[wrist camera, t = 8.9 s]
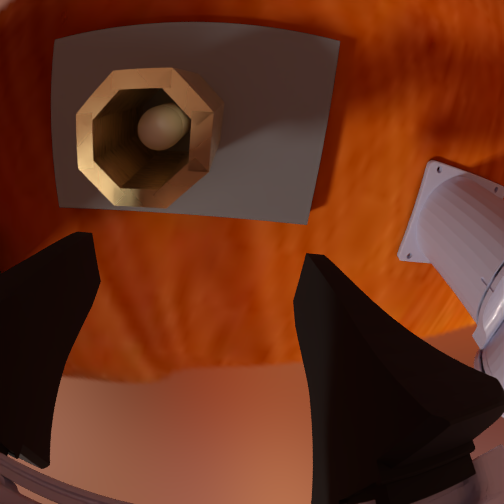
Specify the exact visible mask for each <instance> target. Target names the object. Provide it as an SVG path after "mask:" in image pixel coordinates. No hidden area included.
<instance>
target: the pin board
mask: <svg viewBox="0 0 504 504" xmlns="http://www.w3.org/2000/svg"><path fill="white" fill-rule="evenodd" d="M339 47H340V41H338V40H334V39H330V38H325V37H321V36H317V35H312V34H307V33H302V32H297V31H291V30H285V29H279V28H272V27H264V26H256V25H246V24H234V23H216V22H169V23H152V24H140V25H130V26H122V27H115V28H108V29H102V30H96V31H91V32H85V33H81V34H76V35H72V36H67V37H63V38H59V39H55V42H54V52H53V63H52V81H51V130H52V148H53V161H54V171H55V180H56V188H57V195H58V202H59V207H64V208H90V209H111V210H130V211H147V212H163V213H178V214H192V215H205V216H217V217H230V218H241V219H252V220H263V221H274V222H284V223H294V224H304V225H307V222H308V217H309V213H310V208H311V204H312V199H313V194H314V189H315V185H316V180H317V175H318V170H319V165H320V160H321V155H322V149H323V144H324V139H325V133H326V128H327V122H328V117H329V111H330V105H331V99H332V93H333V87H334V80H335V74H336V67H337V61H338V54H339ZM142 68H177V69H181V70H185V71H190V72H194V73H197V74H199V75H200V76H201V77H202V78H203V79H204V80H205V81H206V82H207V83H208V85H209V86H210V87H211V88H212V89H213V90H214V91H215V92H216V93H217V94H218V96H219V97H220V98H221V99H222V100H223V101H224V110H223V120H222V130H221V140H220V143H219V146H218V148H217V151H216V154H215V156H214V159H213V162H212V165H211V168H210V170H209V173H207V174H206V175H205V176H204V177H202V178H201V179H200V180H199V181H198V182H196V183H195V184H194V185H193V186H192V187H191V188H189V189H188V190H187V191H186V192H185V193H184V194H182V195H181V196H180V197H179V198H178V199H177V200H176V201H174V202H173V203H172V204H171V205H170V206H169V207H168V208H167V209H165V208H149V207H132V206H114V205H113V204H112V203H111V202H110V201H109V200H108V199H107V198H106V197H105V196H104V195H103V194H102V193H101V192H100V191H99V190H98V189H97V187H96V186H95V185H94V184H93V183H92V182H91V181H90V180H89V179H88V178H87V177H86V176H85V175H84V174H83V173H82V172H81V171H80V170H79V169H78V158H77V138H76V114H77V112H78V111H79V110H80V109H81V107H82V106H83V105H84V104H85V102H86V101H87V100H88V99H89V97H90V96H91V95H92V94H93V93H94V92H95V90H96V89H97V88H98V87H99V86H100V85H101V84H102V82H103V81H104V80H105V79H106V78H107V77H108V76H109V75H110V74H111V73H112V71H115V70H126V69H142ZM190 132H191V119H190V118H189V116H188V115H187V114H186V113H185V112H184V111H183V110H182V109H181V108H180V107H179V106H178V105H177V103H176V102H175V101H174V100H173V99H172V98H171V97H170V96H169V95H168V94H167V93H166V92H165V91H164V90H163V89H162V88H161V89H160V90H159V91H158V92H157V93H156V94H155V95H154V96H152V97H151V98H150V99H149V100H148V101H147V102H146V103H145V104H144V105H143V115H142V117H141V118H140V120H139V123H138V136H139V138H140V140H141V142H142V143H143V144H144V145H145V146H147V147H148V148H150V149H153V150H161V151H185V152H187V151H188V150H189V148H190Z"/></svg>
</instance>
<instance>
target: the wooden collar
mask: <svg viewBox="0 0 504 504" xmlns="http://www.w3.org/2000/svg"><path fill="white" fill-rule="evenodd" d="M161 88H162V89H163V90H164V91H165V92H166V93H167V94H168V95H169V96H170V97H171V98H172V99H173V100H174V101H175V102H176V103H177V105H178V106H179V107H180V108H181V109H182V110H183V111H184V112H185V113H186V114H187V115H188V116H189V118H190V119H191V132H190V148H189V150H188V151H187V152H185V151H161V150H153V149H150V148H148V147H147V146H145V145H144V144H143V143H142V142H141V140H140V138H139V136H138V123H139V120H140V118H141V117H142V115H143V105H144V104H145V103H146V102H147V101H148V100H149V99H150V98H151V97H152V96H154V95H155V94H156V93H157V92H158V91H159V90H160V89H161ZM223 110H224V101H223V100H222V99H221V98H220V97H219V96H218V94H217V93H216V92H215V91H214V90H213V89H212V88H211V87H210V86H209V85H208V83H207V82H206V81H205V80H204V79H203V78H202V77H201V76H200V75H199V74H197V73H194V72H190V71H185V70H181V69H177V68H142V69H126V70H115V71H112V73H111V74H110V75H109V76H108V77H107V78H106V79H105V80H104V81H103V82H102V84H101V85H100V86H99V87H98V88H97V89H96V90H95V92H94V93H93V94H92V95H91V96H90V97H89V99H88V100H87V101H86V102H85V104H84V105H83V106H82V107H81V109H80V110H79V111H78V112H77V114H76V138H77V158H78V169H79V170H80V171H81V172H82V173H83V174H84V175H85V176H86V177H87V178H88V179H89V180H90V181H91V182H92V183H93V184H94V185H95V186H96V187H97V189H98V190H99V191H100V192H101V193H102V194H103V195H104V196H105V197H106V198H107V199H108V200H109V201H110V202H111V203H112V204H113V205H114V206H132V207H149V208H165V209H167V208H168V207H169V206H170V205H171V204H172V203H173V202H174V201H176V200H177V199H178V198H179V197H180V196H181V195H182V194H184V193H185V192H186V191H187V190H188V189H189V188H191V187H192V186H193V185H194V184H195V183H196V182H198V181H199V180H200V179H201V178H202V177H204V176H205V175H206V174H207V173H209V170H210V168H211V165H212V162H213V159H214V156H215V154H216V151H217V148H218V146H219V143H220V140H221V130H222V120H223Z"/></svg>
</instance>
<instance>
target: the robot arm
mask: <svg viewBox="0 0 504 504" xmlns="http://www.w3.org/2000/svg"><path fill="white" fill-rule="evenodd" d="M438 167H440V168H439V170H438V171H437V168H438ZM503 197H504V187H503V186H502V185H500V184H497V183H495V182H492V181H490V180H488V179H485V178H483V177H480V176H478V175H475V174H472V173H470V172H467V171H464V170H462V169H459V168H456V167H453V166H450V165H448V164H445V163H442V162H439V161H436V160H430V161H429V162H428V163H427V166H426V169H425V173H424V176H423V180H422V183H421V187H420V190H419V193H418V196H417V199H416V203H415V206H414V209H413V212H412V215H411V217H410V220H409V223H408V226H407V229H406V232H405V234H404V237H403V240H402V242H401V245H400V248H399V250H398V253H397V256H398V258H399V259H400V260H401V261H411V262H422V263H432V265H433V266H434V267H435V268H436V269H437V271H438V272H439V273H440V274H441V276H442V277H443V278H444V280H445V281H446V282H447V283H448V285H449V286H450V287H451V289H452V290H453V291H454V293H455V294H456V295H457V297H458V298H459V299H460V301H461V302H462V304H463V305H464V306H465V308H466V309H467V311H468V312H469V313H470V315H471V316H472V318H473V319H474V321H475V322H476V324H477V328H476V330H475V332H474V333H473V335H472V336H473V338H474V340H475V341H476V343H477V344H478V346H479V350H478V351H477V353H476V356H475V360H474V368H471V367H468V366H467V365H465V364H463V363H461V362H459V361H457V360H455V359H453V358H451V357H450V356H448V355H446V354H444V353H443V352H441V351H439V350H437V349H436V348H434V347H433V346H431V345H429V344H428V343H427V342H425V341H423V340H422V339H420V338H419V337H417V336H416V335H414V334H413V333H412V332H410V331H409V330H408V329H406V328H405V327H404V326H402V325H401V324H400V323H398V322H397V321H396V320H394V319H393V318H392V317H391V316H389V315H388V314H387V313H386V312H385V311H384V310H382V309H381V308H380V307H379V306H378V305H377V304H376V303H374V302H373V301H372V300H371V299H370V298H369V297H368V296H367V295H366V294H365V293H364V292H362V291H361V290H360V289H359V288H358V287H357V286H356V285H355V284H354V283H353V282H352V281H351V280H350V279H349V278H348V277H347V276H346V275H345V274H344V273H343V272H342V271H341V270H340V269H339V268H338V267H337V266H336V265H335V264H334V263H333V262H332V261H330V260H329V259H328V258H327V257H326V256H325V255H319V254H309V253H306V256H305V260H304V264H303V268H302V271H301V275H300V279H299V282H298V286H297V289H296V293H295V297H294V300H293V304H294V316H295V327H296V331H297V336H298V341H299V345H300V350H301V354H302V359H303V363H304V368H305V373H306V377H307V382H308V387H309V395H310V406H311V419H312V436H313V484H312V501H311V504H504V447H503V445H501V444H500V445H498V446H497V447H495V448H493V449H491V450H489V451H488V452H486V453H484V454H482V455H480V456H479V457H477V458H475V459H474V460H472V459H471V457H470V453H471V452H473V451H474V450H475V446H474V443H473V439H474V438H475V437H477V436H478V435H479V434H481V433H482V432H483V431H484V430H486V429H487V428H488V427H489V426H490V425H492V424H493V423H494V422H495V421H496V420H497V419H498V418H499V417H500V416H502V417H504V200H503ZM409 253H410V254H409ZM408 254H409V255H408ZM407 255H408V256H407ZM100 282H101V280H100V276H99V270H98V265H97V260H96V254H95V248H94V242H93V236H92V233H86V232H76V233H73V234H71V235H69V236H66V237H64V238H63V239H61V240H59V241H57V242H55V243H53V244H52V245H50V246H48V247H47V248H45V249H43V250H41V251H40V252H38V253H36V254H35V255H33V256H31V257H30V258H28V259H26V260H24V261H22V262H21V263H19V264H17V265H16V266H14V267H12V268H10V269H9V270H7V271H5V272H3V273H1V274H0V504H41V503H39V502H36V501H34V500H32V499H30V498H28V497H26V496H24V495H22V494H20V493H19V491H18V489H17V486H16V485H15V483H16V484H18V485H20V486H22V487H24V488H26V489H28V490H30V491H32V492H34V493H36V494H38V495H40V496H42V497H45V498H47V499H49V500H51V501H54V502H56V503H58V504H132V503H128V502H124V501H120V500H116V499H112V498H109V497H105V496H102V495H98V494H95V493H92V492H89V491H86V490H83V489H80V488H77V487H74V486H71V485H69V484H66V483H64V482H61V481H58V480H56V479H54V478H51V477H49V476H46V475H44V474H42V473H40V472H37V471H35V470H33V469H31V468H29V467H27V466H25V465H23V464H21V463H19V462H17V461H15V460H13V459H11V458H9V457H8V456H7V455H8V454H9V455H10V456H12V457H14V458H16V459H18V458H20V459H22V460H24V461H26V462H28V463H30V464H33V465H34V466H36V467H39V468H41V469H44V468H46V467H48V466H49V465H50V439H51V428H52V420H53V413H54V407H55V402H56V397H57V393H58V388H59V384H60V380H61V377H62V373H63V370H64V366H65V363H66V361H67V358H68V355H69V353H70V351H71V349H72V346H73V344H74V342H75V340H76V338H77V336H78V334H79V332H80V329H81V327H82V325H83V323H84V321H85V319H86V317H87V315H88V313H89V311H90V309H91V307H92V305H93V302H94V299H95V296H96V294H97V291H98V288H99V285H100ZM14 482H15V483H14Z"/></svg>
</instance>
